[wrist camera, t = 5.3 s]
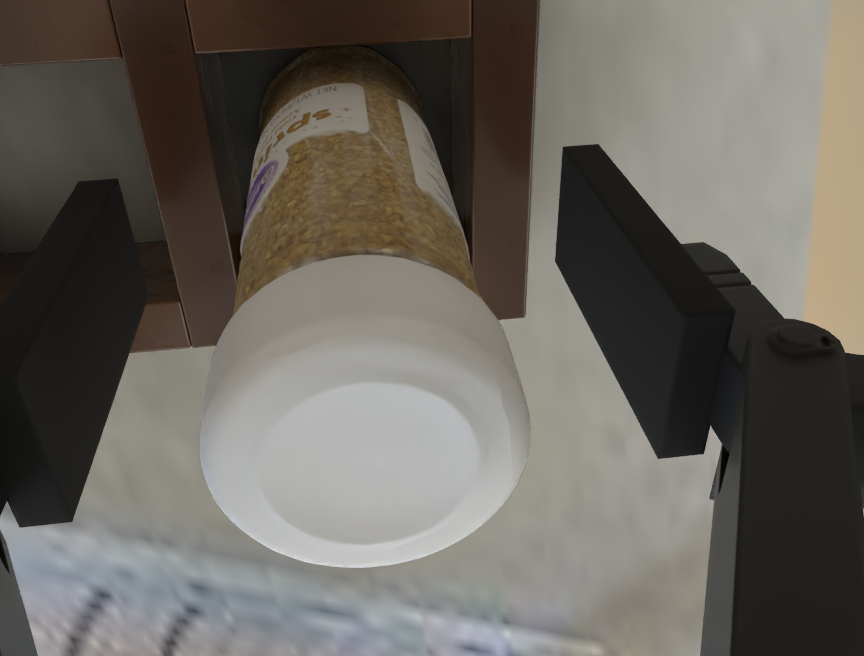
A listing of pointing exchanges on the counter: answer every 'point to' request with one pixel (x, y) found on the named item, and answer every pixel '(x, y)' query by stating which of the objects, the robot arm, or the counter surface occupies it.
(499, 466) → the sprinkles bottle
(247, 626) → the counter surface
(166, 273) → the holder
